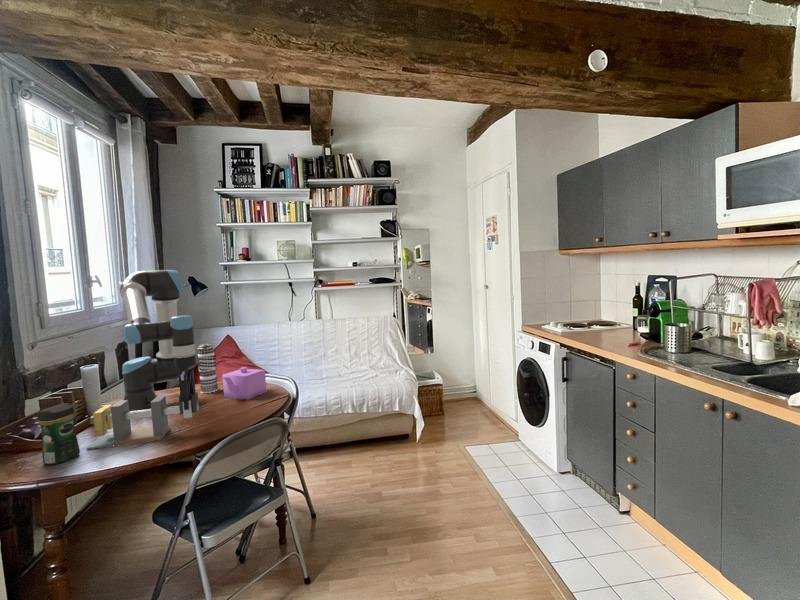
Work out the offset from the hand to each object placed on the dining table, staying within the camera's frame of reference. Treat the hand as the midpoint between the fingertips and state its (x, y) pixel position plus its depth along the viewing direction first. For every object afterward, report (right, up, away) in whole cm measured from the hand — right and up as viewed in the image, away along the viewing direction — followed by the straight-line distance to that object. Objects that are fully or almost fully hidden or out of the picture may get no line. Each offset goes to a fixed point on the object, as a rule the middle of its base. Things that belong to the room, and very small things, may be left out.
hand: (190, 414), depth 164 cm
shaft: (-15, 0, -4) cm, 15 cm away
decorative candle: (-19, -4, +58) cm, 61 cm away
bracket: (-16, -8, -4) cm, 18 cm away
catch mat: (-28, -8, -7) cm, 30 cm away
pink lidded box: (+4, -4, +47) cm, 47 cm away
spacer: (-28, -4, -7) cm, 29 cm away
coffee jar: (-33, -10, -21) cm, 40 cm away
